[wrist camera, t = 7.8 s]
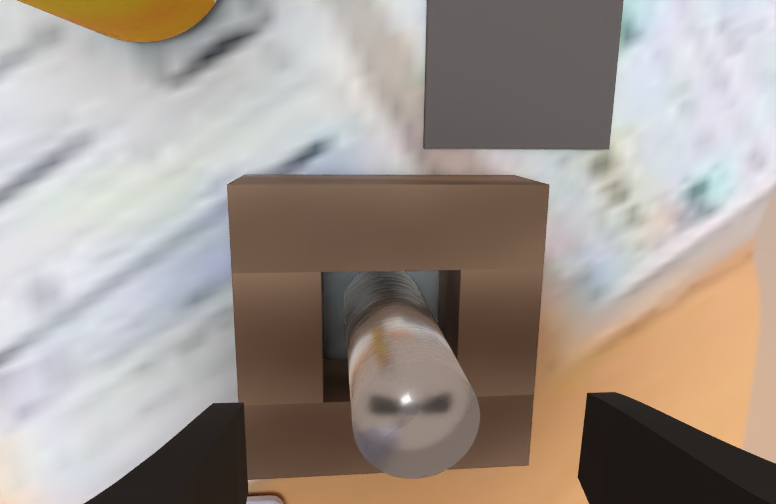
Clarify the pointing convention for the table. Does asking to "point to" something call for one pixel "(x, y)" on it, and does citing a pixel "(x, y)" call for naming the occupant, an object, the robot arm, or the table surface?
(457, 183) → the walnut block
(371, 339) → the steel peg
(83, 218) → the table surface
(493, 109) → the rubber mat
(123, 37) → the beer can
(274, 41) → the table surface
